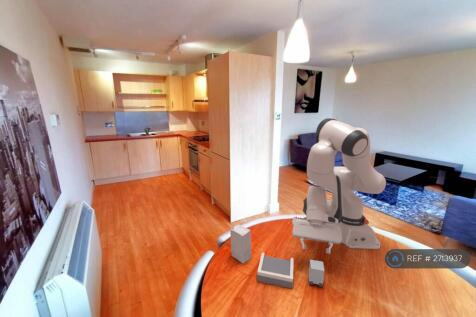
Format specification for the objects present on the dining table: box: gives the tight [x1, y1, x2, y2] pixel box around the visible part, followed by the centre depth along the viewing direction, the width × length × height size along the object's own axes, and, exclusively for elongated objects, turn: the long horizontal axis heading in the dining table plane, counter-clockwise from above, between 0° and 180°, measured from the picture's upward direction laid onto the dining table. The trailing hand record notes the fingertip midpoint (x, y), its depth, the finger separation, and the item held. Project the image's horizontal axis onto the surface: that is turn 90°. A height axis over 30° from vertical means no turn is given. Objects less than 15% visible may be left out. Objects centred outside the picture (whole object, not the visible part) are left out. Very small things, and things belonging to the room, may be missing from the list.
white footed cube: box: [308, 259, 325, 288], centre depth 86 cm, size 5×6×8 cm
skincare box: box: [229, 224, 252, 265], centre depth 99 cm, size 8×6×15 cm
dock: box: [256, 252, 294, 289], centre depth 90 cm, size 14×12×4 cm
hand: (316, 251), depth 89 cm, fingers open, 8 cm apart
